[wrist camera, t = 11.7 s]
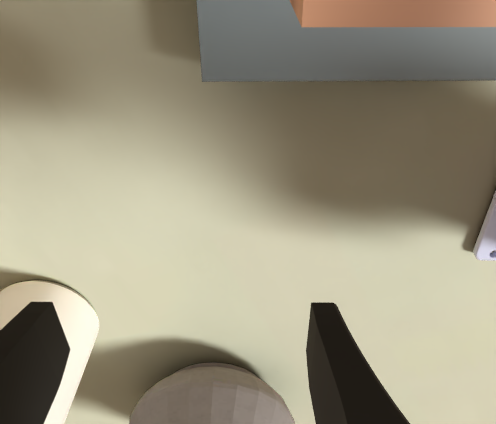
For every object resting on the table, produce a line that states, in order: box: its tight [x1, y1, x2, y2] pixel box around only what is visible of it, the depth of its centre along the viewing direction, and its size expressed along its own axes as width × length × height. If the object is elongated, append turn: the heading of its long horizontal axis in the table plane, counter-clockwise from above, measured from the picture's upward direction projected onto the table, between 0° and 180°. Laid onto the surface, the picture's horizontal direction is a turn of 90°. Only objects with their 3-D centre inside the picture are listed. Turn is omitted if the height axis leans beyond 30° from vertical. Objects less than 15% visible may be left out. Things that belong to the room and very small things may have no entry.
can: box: [0, 280, 99, 424], centre depth 22 cm, size 6×6×12 cm
